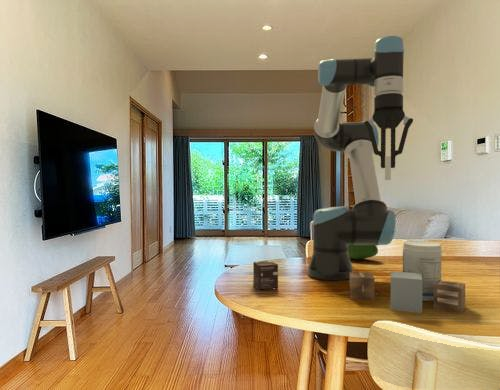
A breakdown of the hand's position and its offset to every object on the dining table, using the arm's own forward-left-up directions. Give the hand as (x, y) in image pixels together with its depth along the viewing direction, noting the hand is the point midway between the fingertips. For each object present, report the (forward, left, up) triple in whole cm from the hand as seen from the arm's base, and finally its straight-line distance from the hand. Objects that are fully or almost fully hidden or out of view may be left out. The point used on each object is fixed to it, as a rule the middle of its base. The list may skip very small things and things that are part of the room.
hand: (387, 179), depth 103 cm
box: (-34, -6, -32) cm, 47 cm away
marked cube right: (+15, -8, -32) cm, 36 cm away
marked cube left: (-6, -7, -32) cm, 33 cm away
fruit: (-12, +49, -32) cm, 60 cm away
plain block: (+5, -11, -32) cm, 34 cm away
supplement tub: (+9, 0, -32) cm, 33 cm away
